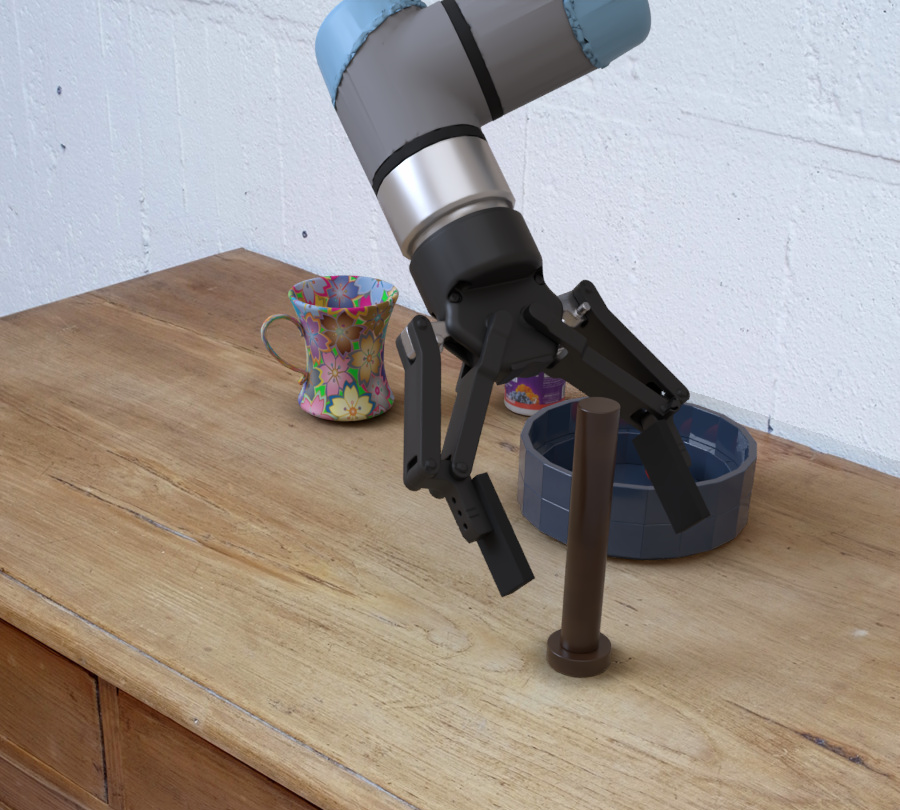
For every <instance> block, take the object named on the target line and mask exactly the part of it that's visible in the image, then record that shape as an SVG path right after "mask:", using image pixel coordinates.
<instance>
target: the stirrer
mask: <svg viewBox="0 0 900 810" xmlns="http://www.w3.org/2000/svg"><path fill="white" fill-rule="evenodd" d="M619 418H620V404H619V403H618V402H616V401H615V400H612V399H609V398H604V397H589V398H584V399H582V400H580V401H579V402H578V404H577V416H576V429H575V443H574V457H573V471H572V484H571V498H570V512H569V526H568V539H567V545H566V554H565V568H564V569H565V570H564V583H563V597H562V609H561V621H560V623H561V625H560V628H559V629H557V630H555V631H553V632H552V633H551V634H550V635H549V636H548V637H547V640H546V654H545V655H546V656H545V660H546V662H547V664H548V665H549V667H550V668H552V669H553V670H554V671H556V672H558V673H559V674H563V675H565V676H570V677H575V678H587V677H588V678H589V677H594V676H597V675H600V674H602V673H604V672H605V671H607V669H608V668H609V667H610V665H611V660H612V659H611V658H612V648H613V645H612V642H611V640H610V638H609V637H608V636H607V635H605V634H604V633H602V632H601V628H602V627H601V625H602V616H603V615H602V613H603V605H604V594H605V593H604V592H605V582H606V571H607V570H606V569H607V560H608V557H607V550H608V539H609V528H610V517H611V506H612V495H613V484H614V473H615V462H616V451H617V440H618V429H619Z"/></svg>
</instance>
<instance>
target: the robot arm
mask: <svg viewBox="0 0 900 810" xmlns="http://www.w3.org/2000/svg"><path fill="white" fill-rule="evenodd" d="M651 26H652V13H651V6H650V2H649V0H437V1H435V2H434V3H431V4H430V5H428V4H426V2H425V1H422V0H341V1H340V2H339V3H338V4H337V5H335V7H333V8H332V10H331V11H330V12H329V13H328V14H327V15H326V16H325V18H324V19H323V21H322V22H321V24H320V26H319V27H318V31H317V33H316V37H315V40H314V53H315V58H316V63H317V66H318V69H319V71H320V74H321V76H322V78H323V81H324V84H325V86H326V89H327V92H328V94H329V97H330V99H331V105H332V107H333V108H334V111H335V114H336V115H337V117H338V119H339V122H340V124H341V125H342V128H343V129H344V132H345V134H346V136H347V138H348V140H349V142H350V145H351V146H352V149H353V151H354V153H355V155H356V157H357V159H358V162H359V164H360V165H361V168H362V170H363V172H364V174H365V177H366V178H367V180H368V182H369V185H370V187H371V189H372V191H373V193H374V196H375V197H376V199H377V201H378V204H379V206H380V209H381V211H382V213H383V215H384V217H385V220H386V222H387V224H388V227H389V228H390V231H391V232H392V235H393V238H394V239H395V241H396V244H397V246H398V249H399V250H400V253H401V255H402V256H403V257H404V258H406V259H407V260H408V261H410V262H409V265H408V271H409V273H410V276H411V278H412V280H413V283H414V285H415V287H416V289H417V291H418V293H419V295H420V297H421V300H422V302H423V304H424V307H425V309H426V310H427V313H428V314H429V315H430V316H431V318H433V319H434V320H435V321H430V318H428V317H427V316H426V315H424V314H416V315H414V316H413V317H412V318H411V320H410V321H409V322H408V323H407V324H406V326H405V327H404V329H402V331H401V332H400V333H399V334H398V335H397V336H396V338H395V342H394V343H395V347H396V350H397V352H398V356H399V359H400V362H401V364H402V367H403V371H404V389H403V390H404V392H403V396H404V397H403V448H402V449H403V450H402V451H403V452H402V453H403V454H402V456H403V457H402V459H403V460H402V481H403V485H404V487H405V488H407V489H408V490H409V491H410V492H418V491H420V490H421V489H424V490H425V489H426V490H428V492H429V494H430V495H431V497H433V498H434V499H437V500H443V499H445V501H446V503H447V505H448V507H449V510H450V511H451V514H452V517H453V519H454V520H455V523H456V526H457V527H458V530H459V532H460V534H461V536H462V538H463V539H464V540H465V541H466V542H467V543H468V544H473V543H475V542H476V544H477V546H478V548H479V550H480V553H481V555H482V557H483V559H484V561H485V564H486V566H487V569H488V571H489V573H490V576H491V577H492V580H493V582H494V584H495V586H496V589H497V590H498V593H499V594H500V595H499V596H500V597H501V598H504V597H506V596H509V595H512V594H514V593H516V592H517V591H518V590H520V589H521V588H523V587H525V586H526V585H528V584H529V583H530V582H532V581H534V580H535V579H536V576H535V574H534V572H533V570H532V568H531V565H530V563H529V561H528V559H527V557H526V554H525V552H524V550H523V548H522V546H521V543H520V540H519V539H518V537H517V535H516V532H515V530H514V528H513V526H512V524H511V521H510V519H509V517H508V514H507V512H506V510H505V508H504V506H503V504H502V502H501V499H500V497H499V495H498V493H497V490H496V488H495V486H494V484H493V481H492V479H491V477H490V475H489V473H488V471H486V472H485V471H484V472H482V473H479V474H475V475H474V476H473V477H471V474H472V472H473V468H474V463H475V460H476V456H477V452H478V448H479V444H480V439H481V436H482V433H483V428H484V424H485V421H486V420H485V419H486V416H487V411H488V408H489V404H490V400H491V396H492V392H493V387H494V384H496V386H497V387H498V386H503V385H505V384H506V383H508V382H510V381H511V380H513V379H514V378H530V377H533V376H537V375H539V374H540V373H541V372H543V373H545V374H546V375H548V376H549V377H551V378H555V379H557V378H561V379H563V380H565V381H566V383H568V384H569V385H570V386H572V387H573V388H575V389H577V390H578V391H579V392H581V393H582V394H585V395H586V397H604V398H609V399H612V400H615V401H616V402H618V403H619V404H620V418H621V419H623V420H624V421H625V422H627V423H628V424H630V425H631V426H633V427H634V428H636V429H637V430H639V431H640V432H642V433H640V434H639V435H638V436H636V437H635V438H634V439H632V442H633V444H634V446H635V448H636V450H637V453H638V455H639V457H640V459H641V461H642V463H643V465H644V467H645V470H646V472H647V474H648V476H649V478H650V480H651V482H652V484H653V487H654V489H655V491H656V493H657V495H658V497H659V499H660V501H661V504H662V506H663V508H664V510H665V512H666V514H667V516H668V518H669V521H670V523H671V525H672V527H673V529H674V531H675V533H676V534H678V533H681V532H684V531H686V530H687V529H689V528H691V527H692V526H694V525H696V524H697V523H699V522H701V521H702V520H704V519H706V518H707V517H709V516H710V515H711V514H710V512H709V510H708V508H707V506H706V504H705V502H704V500H703V498H702V495H701V493H700V491H699V489H698V487H697V485H696V483H695V481H694V479H693V477H692V474H691V472H690V470H689V467H691V466H692V464H691V457H690V455H689V453H688V451H687V450H686V447H685V445H684V444H683V441H682V438H681V436H680V434H679V432H678V430H677V428H676V426H675V424H674V421H673V415H674V414H675V413H676V412H678V411H679V410H680V408H681V406H682V405H683V404H684V403H685V402H689V400H690V398H691V393H690V390H689V389H688V387H687V386H686V385H685V384H684V383H683V382H682V381H681V380H679V378H678V377H677V376H676V375H675V374H674V373H673V372H672V371H671V370H670V368H668V367H667V366H666V365H665V364H664V363H663V362H662V361H661V360H660V359H659V358H658V357H657V356H656V355H655V354H654V353H653V352H652V351H651V350H650V349H649V348H648V347H647V346H646V345H645V344H644V343H643V342H642V341H641V340H640V339H639V338H638V337H637V336H636V335H635V334H634V333H633V331H631V330H630V329H629V328H628V327H627V326H626V325H625V324H624V323H623V322H622V320H620V319H619V318H618V317H617V316H616V314H614V313H613V312H612V311H611V310H610V309H609V308H608V306H607V304H606V302H605V301H604V299H603V297H602V296H601V294H600V292H599V290H598V289H597V287H596V286H595V284H594V282H592V281H591V280H588V279H582V280H581V281H579V283H577V285H576V286H574V287H573V288H572V289H571V290H569V291H567V292H563V293H561V294H559V295H557V294H556V293H555V292H554V291H553V290H552V289H551V288H550V287H549V286H548V284H547V283H546V281H545V278H544V262H543V256H542V254H541V252H540V249H539V248H538V246H537V244H536V241H535V239H534V237H533V235H532V232H531V230H530V228H529V227H528V224H527V222H526V219H525V218H524V216H523V214H522V212H520V211H518V210H516V209H515V207H516V201H517V200H516V198H515V196H514V194H513V191H512V189H511V187H510V185H509V183H508V181H507V179H506V177H505V175H504V172H503V171H502V169H501V167H500V164H499V163H498V161H497V158H496V157H495V154H494V152H493V150H492V148H491V146H490V144H489V142H488V140H487V137H486V135H485V134H484V132H483V130H482V127H484V126H485V125H487V124H489V123H491V122H495V121H496V120H498V119H500V118H502V117H504V116H506V115H507V114H510V113H511V112H513V111H516V110H518V109H519V108H522V107H523V106H525V105H527V104H530V103H531V102H534V101H536V100H538V99H539V98H542V97H544V96H546V95H549V93H551V92H553V91H556V90H558V89H560V88H562V87H564V86H567V85H568V84H571V83H572V82H574V81H576V80H578V79H580V78H582V77H584V76H586V75H588V74H590V73H593V72H594V71H596V70H599V69H601V70H603V69H605V68H608V67H609V66H610V64H611V63H612V62H613V61H615V60H617V59H618V58H620V57H622V56H623V55H625V54H627V53H628V52H630V51H632V50H633V49H635V48H636V47H638V46H640V45H641V44H643V43H644V42H645V41H646V40H647V38H648V36H649V35H650V32H651V28H652V27H651ZM559 345H560V346H562V347H563V348H565V349H564V350H562V351H561V352H560V353H559V354H558V355H557V353H558V348H559ZM444 349H445V350H447V352H449V353H451V355H453V356H454V357H456V358H457V359H458V360H460V361H461V366H460V370H459V372H458V373H459V374H458V378H457V381H456V385H455V389H454V390H455V392H456V395H455V399H454V403H453V406H452V410H451V415H450V417H449V422H448V426H447V429H446V432H445V438H444V441H443V445H442V356H441V354H442V353H443V351H444ZM663 393H664V394H663ZM643 409H645V410H646V411H644V410H643Z"/></svg>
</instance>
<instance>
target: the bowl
mask: <svg viewBox="0 0 900 810" xmlns="http://www.w3.org/2000/svg"><path fill="white" fill-rule="evenodd" d="M584 398H589V397H588V396H581V397H576V398H575V397H574V398H569V399H565V400H564V401H561V402H559V403H556V404H553V405H550V406H547V407H544V408H542V409H541V410H539V411H538V412H536V413H535V414H534V415H532V416H529V417H528V418H527V419H526V420H525V422H524V424H523V427H522V429H521V431H520V434H519V454H518V473H517V493H516V500H517V503H518V506H519V509H520V512H521V515H522V516H523V517H524V518H525V519H526V520H527V521H528V522H529V523H530V524H532V525H533V526H534V527H535V529H537V530H538V531H539V532H541V533H542V534H545V535H547V536H548V537H551V538H553V539H554V540H556V541H558V542H560V543H562V544H564V545H566V546H567V539H568V526H569V512H570V498H571V484H572V471H573V457H574V443H575V429H576V416H577V404H578V402H579V401H580V400H582V399H584ZM643 410H644V411H646V410H645V409H643ZM673 421H674V424H675V426H676V428H677V430H678V432H679V434H680V436H681V438H682V441H683V444H684V445H685V447H686V450H687V451H688V453H689V455H690V457H691V464H692V466H691V467H689V470H690V472H691V474H692V477H693V479H694V481H695V483H696V485H697V487H698V489H699V491H700V493H701V495H702V498H703V500H704V502H705V504H706V506H707V508H708V510H709V512H710V514H711V515H710V516H709V517H707V518H706V519H704V520H702V521H701V522H699V523H697V524H696V525H694V526H692V527H691V528H689V529H687V530H686V531H684V532H681V533H678V534H676V533H675V531H674V529H673V527H672V525H671V523H670V521H669V518H668V516H667V514H666V512H665V510H664V508H663V506H662V504H661V501H660V499H659V497H658V495H657V493H656V491H655V489H654V487H653V484H652V482H651V480H650V479H649V478H648V476H647V474H646V471H645V467H644V465H643V463H642V461H641V459H640V457H639V455H638V453H637V450H636V448H635V446H634V444H633V442H632V439H634V438H635V437H636V436H638V435H639V434H640V433H642V432H640V431H639V430H637V429H636V428H634V427H633V426H631V425H630V424H628V423H627V422H625V421H624V420H623V419H621V418H619V429H618V440H617V451H616V462H615V473H614V484H613V495H612V506H611V517H610V528H609V539H608V550H607V558H612V559H613V558H614V559H622V560H633V561H662V560H664V561H665V560H675V559H680V558H685V557H690V556H694V555H697V554H701V553H705V552H710V551H712V550H714V549H717V548H718V547H721V546H723V545H724V544H727V543H729V542H731V541H733V540H734V539H736V538H737V537H738V535H739V534H740V533H741V532H742V530H744V528H745V527H746V525H747V524H748V520H749V514H750V513H749V512H750V507H751V500H752V495H753V486H754V480H755V475H756V466H757V461H758V442H757V440H755V438H754V437H753V435H752V434H751V433H750V431H749V430H748V429H747V428H746V427H745V426H743V425H742V424H740V423H738V422H737V421H735V420H734V419H733V418H730V417H729V416H728V415H726V414H724V413H722V412H718V411H716V410H713V409H710V408H709V407H708V408H707V407H705V406H702V405H699V404H697V403H692V402H689V401H686V402H685V403H684V404H683V405H682V406H681V408H680V410H679V411H678V412H676V413H675V414H674V415H673Z"/></svg>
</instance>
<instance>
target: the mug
mask: <svg viewBox="0 0 900 810" xmlns="http://www.w3.org/2000/svg"><path fill="white" fill-rule="evenodd" d="M399 295H400V293H399V290H398V288H397V287H396V286H395V285H393V283H390V282H389V281H385V280H383V279H380V278H375V277H371V276H362V275H350V274H349V275H347V274H345V275H344V274H342V275H341V274H340V275H339V274H338V275H326V276H325V275H324V276H319V277H318V276H317V277H313V278H309V279H305V280H302V281H300V282H298V283H296V284H294V285H292V287H290V289H288V293H287V296H288V300H289V301H290V304H291V305H292V308H293V309H294V312H295V314H296V317H297V318H295V317H293V315H290V314H287V313H281V312H280V313H275V314H272V315H270V316H268V317H267V318H266V319H265V320H264V321H263V322H262V324H261V327H260V337H261V341H262V344H263V345H264V347H265V349H266V350H267V352H268V353H269V354H270V355H271V357H273V359H274V360H276V361H277V362H278V363H280V364H281V365H282V366H284V368H287V369H289V370H291V371H293V372H295V373H299V374H301V376H300V377H299V379H298V380H297V383H298V384H299V385H300V386H302V387H301V389H300V391H299V392H298V393H299V394H298V396H297V403H298V406H299V407H300V409H302V411H304V412H306V413H307V414H309V415H311V416H312V417H313V416H314V417H316V418H319V419H323V420H329V421H335V422H356V421H363V420H368V419H372V418H375V417H378V416H380V415H383V414H384V413H386V412H387V411H389V410H390V409H391V408H392V407H393V405H394V403H395V400H396V399H395V395H394V393H393V391H392V389H391V386H390V384H389V381H388V377H387V373H386V367H385V345H386V337H387V336H386V335H387V331H388V326H389V323H390V319H391V317H392V313H393V311H394V308H395V306H396V304H397V301H398V299H399ZM278 320H286V321H289V322H291V323H293V324H294V326H295V327H296V328H297V331H298V333H299V336H300V337H302V338H303V340H304V346H305V357H306V358H305V359H306V362H305V363H306V364H305V366H306V367H305V369H304V368H302V367H300V366H297V365H294V364H293V363H290V362H288V361H287V360H285V359H283V357H281V356H280V355H279V354H277V353H276V351H275V350H274V349H273V348H272V346H271V344H270V342H269V340H268V337H267V330H268V328H269V326H270V325H271V324H272V323H274V322H275V321H278Z"/></svg>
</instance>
